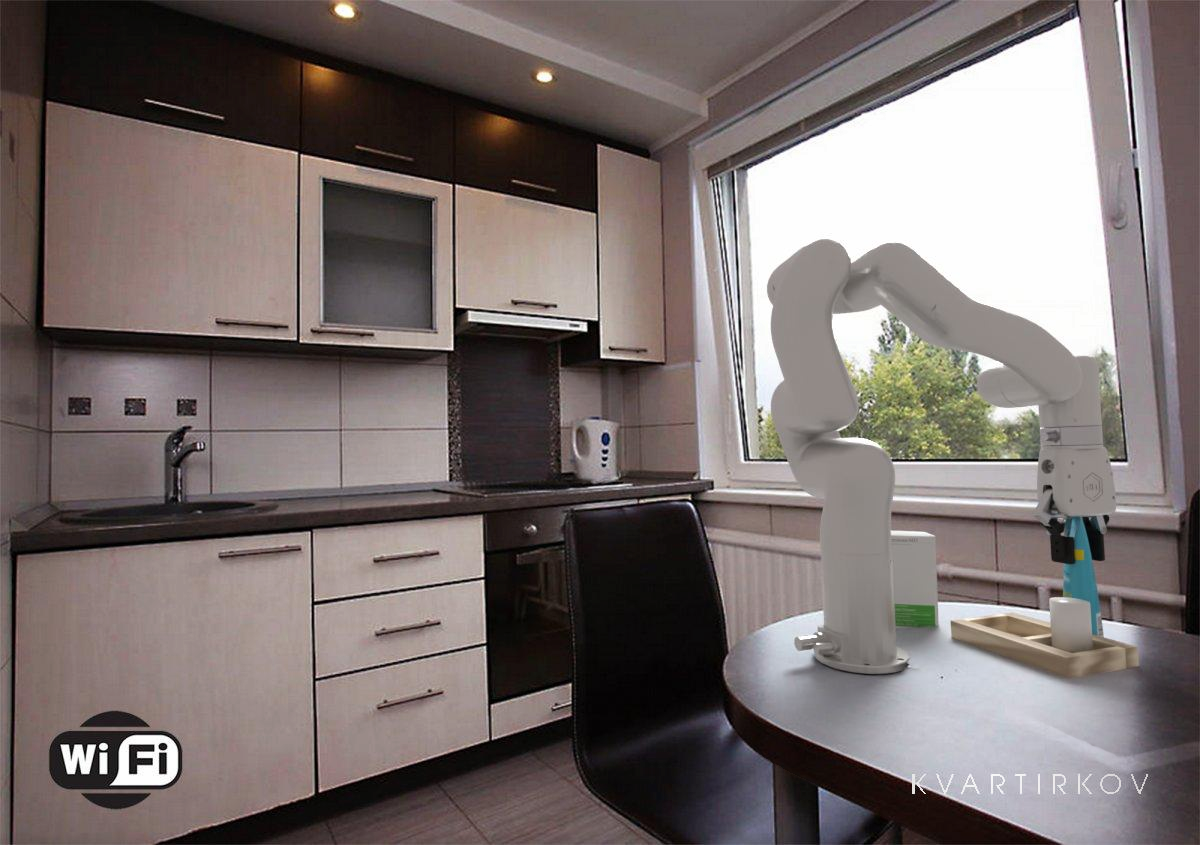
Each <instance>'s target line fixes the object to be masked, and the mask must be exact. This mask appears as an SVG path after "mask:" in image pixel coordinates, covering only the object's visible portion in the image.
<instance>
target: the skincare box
mask: <svg viewBox="0 0 1200 845" xmlns="http://www.w3.org/2000/svg"><path fill="white" fill-rule="evenodd" d="M936 539H937V538H936V535H934V534H931V533H928V532H926V531H917V530H916V531H913V530H911V531H910V530H909V531H908V530H891V546H892V562H893V582H894V603H895V623H896V631H898V630H899V631H902V630H909V629H915V628H924V627H939V622H940V621H939V600H938V599H939V596H938V592H939V591H938V571H937V568H938V567H937V564H938V563H937V540H936Z"/></svg>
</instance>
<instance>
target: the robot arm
mask: <svg viewBox="0 0 1200 845" xmlns="http://www.w3.org/2000/svg"><path fill="white" fill-rule="evenodd" d="M766 293H767V297H768V299H769V303H770V304H771V305H772V309H771V316H770V333H771V334H770V335H771V341H772V345H773V348H774V351H775V352H774V353H775V355H776V358H777V361H778V364H779V368H780V371H781V375H782V377H783V380H782V381H780V383H778V385H777V386H776V387H775V389H774V391H773V393H772V396H771V401H770V413H771V414H770V415H771V419H772V422H773V426H774V428H775V431H776V433H777V437H778V440H779V441H780V445H781V448H782V450H783V452H784V455H785V458H786V460H787V463H788V465H789V468H790V470H791V472H792V475H793V477H794V479H795V480H796V483H797V484H798V485H799V487H800V488H801V489H802V490H803V491H804V492H805V493H806V494H808V495H810V496H811V497H815V498H816V499H820V500H824V501H823V506H822V513H821V518H820V524H819V546H820V559H821V560H820V562H821V563H820V564H821V566H820V568H821V584H822V585H821V586H822V587H821V588H822V607H823V608H822V609H823V624H822V625H820V624H819V625H817V631H816V632H814V633H813V634H812V635H800V636H799V635H798V636H796V637H795V638H794V642H793V644H794V647H795V649H796V650H797V651H798V652H801V651H808V650H812V649H813V655H814V657H815V659H816V660H817V661H818V662H820V663H821V664H824V665H825V666H827V667H830V668H832V669H836V670H840V671H845V672H849V673H856V674H868V675H884V674H885V675H886V674H893V673H897V672H901V671H903V670H905V669H907V668H909V666H910V663H908V662H909V661H910V655H909V653H908V652H907V651H906V650H905V649H903V648H901V647H899V646H897V632H896V631H897V630H896V623H895V603H894V582H893V562H892V546H891V531H892V508H893V500H894V493H895V487H896V486H895V485H896V470H895V466H894V462H893V461H892V458H891V456H890V455H889V453H888V452H887V451H886V450H885V449H884V448H883V447H882V446H881V445H880V444H878V443H876V442H874V441H871V440H869V439H867V438H861V437H841V433H840V431H842V430H844V429H846V428H847V427H849V426H850V425H851V424H853V422H854V421H855V420H856V418H857V416H858V415H859V414H858V413H859V409H860V403H859V397H858V393H857V391H856V388H855V386H854V383H853V381H852V378H851V375H850V373H849V369H848V368H847V365H846V362H845V360H844V357H843V354H842V351H841V350H840V347H839V344H838V342H837V338H836V337H837V336H836V334H835V331H834V323H833V321H834V320H833V317H834V315H838V314H839V315H840V314H850V313H859V312H865V311H870V310H872V309H874V308H877V307H879V306H881V307H883V308H884V309H886V311H888V312H889V313H890V314H892V315H893V316H894V317H895V318H896V319H897V320H899V321H900V322H901V323H902V324H903V325H904V326H906V327H907V328H908V329H909V330H911V331H912V332H913V333H914V334H916V336H918V337H919V338H920V339H921V340H922V341H923V342H924V343H927V344H928V345H931V346H934V347H938V348H943V349H948V350H953V351H959V352H967V353H972V354H975V355H976V354H977V355H979V356H983V357H986V358H989V359H991V360H994V361H995V362H993V363H990V364H988V365H987V366H986V367H985V368H984V369H982V371H981V372H980V373H979V375H978V377H977V381H976V389H977V392H978V394H979V396H980V397H981V398H982V399H983V400H984V401H985V402H987V403H988V404H989V405H991V406H994V407H998V408H1004V409H1012V408H1013V409H1014V408H1024V407H1025V408H1026V407H1032V406H1033V407H1034V406H1037V408H1038V422H1039V439H1040V440H1039V442H1040V449H1039V454H1038V461H1037V472H1036V473H1037V474H1036V478H1037V479H1036V493H1037V494H1036V496H1037V505H1036V506H1035V508H1034V511H1033V512H1032V514H1033V517H1034V518H1036V520H1038V521H1039V523H1041V525H1042V526H1043V527H1044V528H1045V530H1046V532H1045V533H1046V534H1047V535H1048V536H1049V542H1050V556H1051V557H1050V558H1051V561H1052V562H1055V563H1060V564H1064V563H1065V564H1074V563H1075V553H1074V537H1070V536H1069V535H1070V531H1071V525H1072V518H1073V517H1081V518H1082V522H1083V524H1084V527H1085V530H1086V534H1087V538H1088V542H1089V547H1090V552H1091V557H1092V561H1097V562H1104V561H1105V560H1106V555H1105V553H1106V552H1105V538H1104V534H1106V533H1107V525H1108V523H1109V522H1110V519H1111V517H1112V516H1113V514H1114V513H1115V512H1116V510H1117V496H1116V487H1115V480H1114V474H1113V468H1112V464H1111V460H1110V457H1109V453H1108V451H1107V448H1106V447H1104V441H1103V440H1104V439H1103V423H1102V422H1103V421H1102V409H1101V408H1102V406H1101V404H1102V403H1101V392H1100V391H1101V390H1100V374H1099V365H1098V364H1099V363H1098V361H1097V360H1096V359H1095V357H1092V356H1090V355H1073V353H1072V351H1070V350H1069V349H1068V348H1067V347H1066V346H1065V345H1064V344H1062V342H1060V341H1059V340H1058V339H1057V338H1056V337H1054V336H1053V335H1052V334H1051V333H1050V332H1048V331H1047V330H1046V329H1045V328H1043V327H1042V326H1040V325H1038V324H1037V323H1035V322H1033V321H1031V320H1029V319H1028V318H1024V317H1022V316H1020V315H1018V314H1014V313H1012V312H1010V311H1006V310H1004V309H1002V308H998V306H997V307H996V306H993V305H992V304H991V305H990V304H988V303H986V302H985V303H984V302H980V301H978V300H976V299H974V298H973V297H971V296H970V295H969V294H967V293H966V292H965V291H963V289H961V288H960V287H959V286H958V285H957V284H956V283H954V282H953V281H952V280H951V279H950V278H948V277H947V276H946V275H945V274H944V273H943V272H941V271H940V270H939V269H938V268H937V267H936V266H934V265H933V264H932V263H931V262H930V261H929V260H927V259H926V258H925V257H924V256H923V255H922V254H920V253H919V251H917V250H916V249H914V248H913V247H912V246H910V245H909V244H907V243H905V242H902V241H898V240H889V241H886V242H885V241H884V242H882V243H880V244H879V243H878V244H877V245H875V246H873V247H871V248H870V249H868V250H866V251H864V252H863V253H861V254H859V255H858V256H855V258H851V255H850V253H849V250H848V249H847V247H846V245H844V244H843V242H841V241H839V240H838V239H835V238H831V237H830V238H829V237H824V238H819V239H816V240H815V239H814V240H813V241H811V242H809V243H807V244H806V245H804V246H802V247H801V248H799V249H798V250H797V251H796V252H794V253H793V254H792V255H791V256H790V257H788V258H786V260H785V261H783V262H782V263H780V264H779V265H778V266H777V267H776V268H775V269H773V271H772V273H771V274H770V276H769V277H768V281H767V284H766ZM1059 520H1061V523H1060V521H1059Z"/></svg>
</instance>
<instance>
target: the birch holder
mask: <svg viewBox="0 0 1200 845" xmlns="http://www.w3.org/2000/svg"><path fill="white" fill-rule="evenodd" d="M950 633H951V634H950V636H951V638H952V639H955V640H958V641H960V642H963V643H966V644H968V645H971V646H974V647H977V648H980V649H983V650H986V651H988V652H992V653H995V654H997V655H999V656H1003V657H1005V658H1009V659H1011V660H1014V661H1016V662H1020V663H1022V664H1026V665H1029V666H1031V667H1033V668H1037V669H1040V670H1043V671H1045V672H1048V673H1050V674H1053V675H1056V676H1060V677H1062V678H1065V679H1073V678H1074V679H1075V678H1079V677H1085V676H1092V675H1098V674H1103V673H1109V672H1114V671H1120V670H1125V669H1126V670H1127V669H1133V668H1138V667H1140V663H1139V653H1138V652H1139V648H1138V646H1136V645H1133V644H1130V643H1129V644H1128V643H1126V642H1122V641H1118V640H1114V639H1111V638H1107V637H1105V636H1104V637H1101V636H1097V635H1093V634H1092V641H1093V650H1090V651H1084V652H1077V653H1070V652H1067V651H1063V650H1060V649H1057V648H1054V647H1052V640H1051V623H1050V622H1048V621H1045V620H1042V619H1038V618H1034V617H1030V616H1026V615H1025V614H1020V613H1015V612H1006V613H1000V614H992V615H983V616H975V617H966V618H962V619H961V618H959V619H953V620H950Z"/></svg>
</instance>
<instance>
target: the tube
mask: <svg viewBox="0 0 1200 845" xmlns="http://www.w3.org/2000/svg"><path fill="white" fill-rule="evenodd" d="M1069 536H1070V537H1074V553H1075V563H1074V564H1065V563H1063V576H1062V577H1063V581H1062V583H1063V584H1062V587H1063V588H1062V597H1067V598H1076V599H1081V600H1085V601H1088V602H1090V608H1091V625H1092V634H1093V635H1097V636H1101V637H1104V638H1105V636H1104V628H1103V620H1102V614H1101V605H1100V599H1099V592H1098V585H1097V580H1096V574H1095V573H1096V572H1095V567H1094V562H1093V560H1092V557H1091V552H1090V547H1089V542H1088V538H1087V534H1086V530H1085V527H1084V524H1083V522H1082V518H1081V517H1073V518H1072V525H1071V531H1070V535H1069Z"/></svg>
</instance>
